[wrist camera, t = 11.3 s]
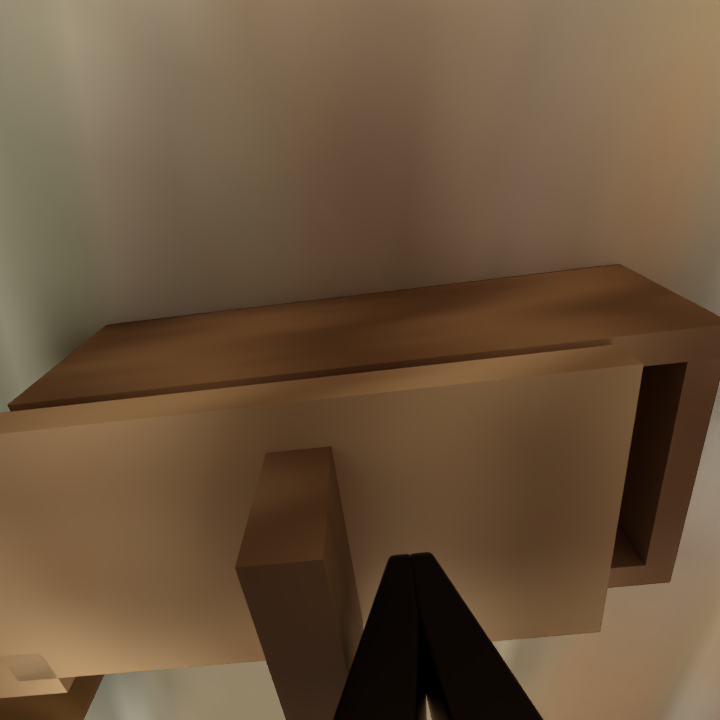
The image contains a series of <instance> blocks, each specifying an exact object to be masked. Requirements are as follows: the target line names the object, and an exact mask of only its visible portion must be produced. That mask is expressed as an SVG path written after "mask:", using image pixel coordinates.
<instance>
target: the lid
mask: <svg viewBox="0 0 720 720" xmlns="http://www.w3.org/2000/svg"><path fill="white" fill-rule="evenodd" d="M643 365H644V364H643V363H642V362H641V361H640V360H638V359H637V358H636V357H635V356H633V355H632V354H631V353H630V352H629V351H627V350H626V349H625V348H624V347H623V346H621V345H620V344H616V345H607V346H598V347H589V348H580V349H571V350H562V351H553V352H544V353H535V354H526V355H517V356H508V357H499V358H490V359H481V360H472V361H463V362H454V363H445V364H436V365H427V366H418V367H409V368H400V369H391V370H382V371H373V372H364V373H355V374H346V375H337V376H328V377H319V378H310V379H301V380H292V381H283V382H274V383H265V384H256V385H247V386H238V387H229V388H220V389H211V390H202V391H193V392H184V393H175V394H166V395H157V396H148V397H139V398H130V399H121V400H112V401H103V402H94V403H85V404H75V405H66V406H57V407H48V408H39V409H30V410H21V411H12V412H3V413H0V698H8V697H20V696H32V695H44V694H56V693H68V691H69V689H70V687H71V685H72V683H73V681H74V679H75V677H78V676H90V675H101V674H113V673H125V672H137V671H148V670H160V669H172V668H183V667H195V666H207V665H219V664H230V663H242V662H254V661H266V662H267V665H268V668H269V671H270V674H271V676H272V679H273V682H274V685H275V688H276V691H277V694H278V697H279V700H280V703H281V706H282V709H283V712H284V715H285V718H286V720H333V717H334V714H335V711H336V708H337V706H338V703H339V700H340V697H341V694H342V691H343V688H344V685H345V682H346V680H347V677H348V674H349V671H350V668H351V665H352V662H353V659H354V656H355V653H356V651H357V648H358V645H359V642H360V639H361V636H362V633H363V630H364V627H365V624H366V622H367V619H368V616H369V613H370V610H371V607H372V604H373V601H374V598H375V595H376V593H377V590H378V587H379V584H380V581H381V578H382V575H383V572H384V569H385V567H386V564H387V561H388V558H389V557H390V556H391V555H398V554H410V555H411V554H412V553H421V552H430V553H432V554H433V555H434V557H435V558H436V560H437V561H438V563H439V564H440V565H441V567H442V568H443V570H444V571H445V573H446V574H447V576H448V577H449V579H450V580H451V582H452V583H453V585H454V586H455V588H456V589H457V591H458V592H459V594H460V595H461V597H462V598H463V600H464V601H465V603H466V604H467V606H468V607H469V609H470V610H471V612H472V613H473V615H474V616H475V618H476V619H477V621H478V622H479V624H480V625H481V627H482V628H483V630H484V631H485V633H486V634H487V636H488V637H489V639H490V640H491V641H500V640H512V639H524V638H536V637H547V636H559V635H571V634H583V633H594V632H600V630H601V624H602V618H603V612H604V605H605V599H606V593H607V587H608V581H609V575H610V568H611V562H612V556H613V550H614V544H615V538H616V531H617V525H618V519H619V513H620V507H621V501H622V495H623V488H624V482H625V476H626V470H627V464H628V458H629V451H630V445H631V439H632V433H633V427H634V421H635V414H636V408H637V402H638V396H639V390H640V384H641V377H642V371H643Z"/></svg>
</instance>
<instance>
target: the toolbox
mask: <svg viewBox="0 0 720 720" xmlns="http://www.w3.org/2000/svg"><path fill="white" fill-rule="evenodd" d="M616 344H620V345H621V346H623V347H624V348H625V349H626V350H627V351H629V352H630V353H631V354H632V355H633V356H635V357H636V358H637V359H638V360H640V361H641V362H642V363H643V364H644V365H643V371H642V377H641V384H640V390H639V396H638V402H637V408H636V414H635V421H634V427H633V433H632V439H631V445H630V451H629V458H628V464H627V470H626V476H625V482H624V488H623V495H622V501H621V507H620V513H619V519H618V525H617V531H616V538H615V544H614V550H613V556H612V562H611V568H610V575H609V581H608V587H607V588H611V587H623V586H634V585H645V584H656V583H668V582H670V580H671V576H672V572H673V568H674V564H675V560H676V556H677V552H678V548H679V544H680V539H681V535H682V531H683V527H684V523H685V519H686V515H687V511H688V507H689V503H690V499H691V495H692V491H693V487H694V483H695V478H696V474H697V470H698V466H699V462H700V458H701V454H702V450H703V446H704V442H705V438H706V434H707V430H708V426H709V422H710V417H711V413H712V409H713V405H714V401H715V397H716V393H717V389H718V385H719V381H720V316H718V315H716V314H714V313H712V312H710V311H708V310H706V309H704V308H702V307H700V306H699V305H697V304H695V303H693V302H691V301H689V300H687V299H685V298H683V297H681V296H679V295H678V294H676V293H674V292H672V291H670V290H668V289H666V288H664V287H662V286H660V285H658V284H657V283H655V282H653V281H651V280H649V279H647V278H645V277H643V276H641V275H639V274H637V273H636V272H634V271H632V270H630V269H628V268H626V267H624V266H622V265H620V264H619V265H610V266H602V267H593V268H585V269H576V270H568V271H559V272H551V273H542V274H534V275H525V276H517V277H509V278H500V279H492V280H483V281H475V282H466V283H458V284H449V285H441V286H432V287H424V288H416V289H407V290H399V291H390V292H382V293H373V294H365V295H356V296H348V297H339V298H331V299H323V300H314V301H306V302H297V303H289V304H280V305H272V306H263V307H255V308H246V309H238V310H229V311H221V312H213V313H204V314H196V315H187V316H179V317H170V318H162V319H153V320H145V321H136V322H128V323H120V324H111V325H106V326H105V327H103V328H102V329H101V330H100V331H99V332H97V333H96V334H95V335H94V336H92V337H91V338H90V339H89V340H87V341H86V342H85V343H84V344H82V345H81V346H80V347H79V348H77V349H76V350H75V351H74V352H72V353H71V354H70V355H69V356H67V357H66V358H65V359H64V360H63V361H61V362H60V363H59V364H58V365H56V366H55V367H54V368H53V369H51V370H50V371H49V372H48V373H46V374H45V375H44V376H43V377H41V378H40V379H39V380H38V381H36V382H35V383H34V384H33V385H31V386H30V387H29V388H28V389H27V390H25V391H24V392H23V393H22V394H20V395H19V396H18V397H17V398H15V399H14V400H13V401H12V402H10V403H9V404H8V407H9V409H10V411H11V412H12V411H21V410H30V409H39V408H48V407H57V406H66V405H75V404H85V403H94V402H103V401H112V400H121V399H130V398H139V397H148V396H157V395H166V394H175V393H184V392H193V391H202V390H211V389H220V388H229V387H238V386H247V385H256V384H265V383H274V382H283V381H292V380H301V379H310V378H319V377H328V376H337V375H346V374H355V373H364V372H373V371H382V370H391V369H400V368H409V367H418V366H427V365H436V364H445V363H454V362H463V361H472V360H481V359H490V358H499V357H508V356H517V355H526V354H535V353H544V352H553V351H562V350H571V349H580V348H589V347H598V346H607V345H616Z"/></svg>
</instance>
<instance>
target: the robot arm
mask: <svg viewBox="0 0 720 720" xmlns="http://www.w3.org/2000/svg"><path fill="white" fill-rule="evenodd" d="M426 695H427V700H428V705H429V709H430V713H431V718H432V720H543V718H542V717H541V715H540V714H539V712H538V711H537V709H536V708H535V706H534V705H533V703H532V702H531V700H530V699H529V697H528V696H527V694H526V693H525V691H524V690H523V688H522V687H521V685H520V684H519V682H518V681H517V679H516V678H515V676H514V675H513V673H512V672H511V670H510V669H509V667H508V666H507V664H506V663H505V661H504V660H503V658H502V657H501V655H500V654H499V652H498V651H497V649H496V648H495V646H494V645H493V643H492V642H491V640H490V639H489V637H488V636H487V634H486V633H485V631H484V630H483V628H482V627H481V625H480V624H479V622H478V621H477V619H476V618H475V616H474V615H473V613H472V612H471V610H470V609H469V607H468V606H467V604H466V603H465V601H464V600H463V598H462V597H461V595H460V594H459V592H458V591H457V589H456V588H455V586H454V585H453V583H452V582H451V580H450V579H449V577H448V576H447V574H446V573H445V571H444V570H443V568H442V567H441V565H440V564H439V563H438V561H437V560H436V558H435V557H434V555H433V554H432V553H430V552H421V553H412V554H411V555H410V554H398V555H391V556H390V557H389V558H388V561H387V564H386V567H385V569H384V572H383V575H382V578H381V581H380V584H379V587H378V590H377V593H376V595H375V598H374V601H373V604H372V607H371V610H370V613H369V616H368V619H367V622H366V624H365V627H364V630H363V633H362V636H361V639H360V642H359V645H358V648H357V651H356V653H355V656H354V659H353V662H352V665H351V668H350V671H349V674H348V677H347V680H346V682H345V685H344V688H343V691H342V694H341V697H340V700H339V703H338V706H337V708H336V711H335V714H334V717H333V720H427V716H426Z"/></svg>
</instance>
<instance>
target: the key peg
mask: <svg viewBox="0 0 720 720" xmlns="http://www.w3.org/2000/svg"><path fill="white" fill-rule="evenodd" d="M103 676H104V674H101V675H90V676H78V677H75V679H74V681H73V683H72V685H71V687H70V689H69V691H68V693H56V694H44V695H32V696H20V697H8V698H0V720H84V718H85V716H86V713H87V711H88V709H89V707H90V705H91V703H92V700H93V698H94V696H95V694H96V692H97V689H98V687H99V685H100V683H101V681H102V678H103Z"/></svg>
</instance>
